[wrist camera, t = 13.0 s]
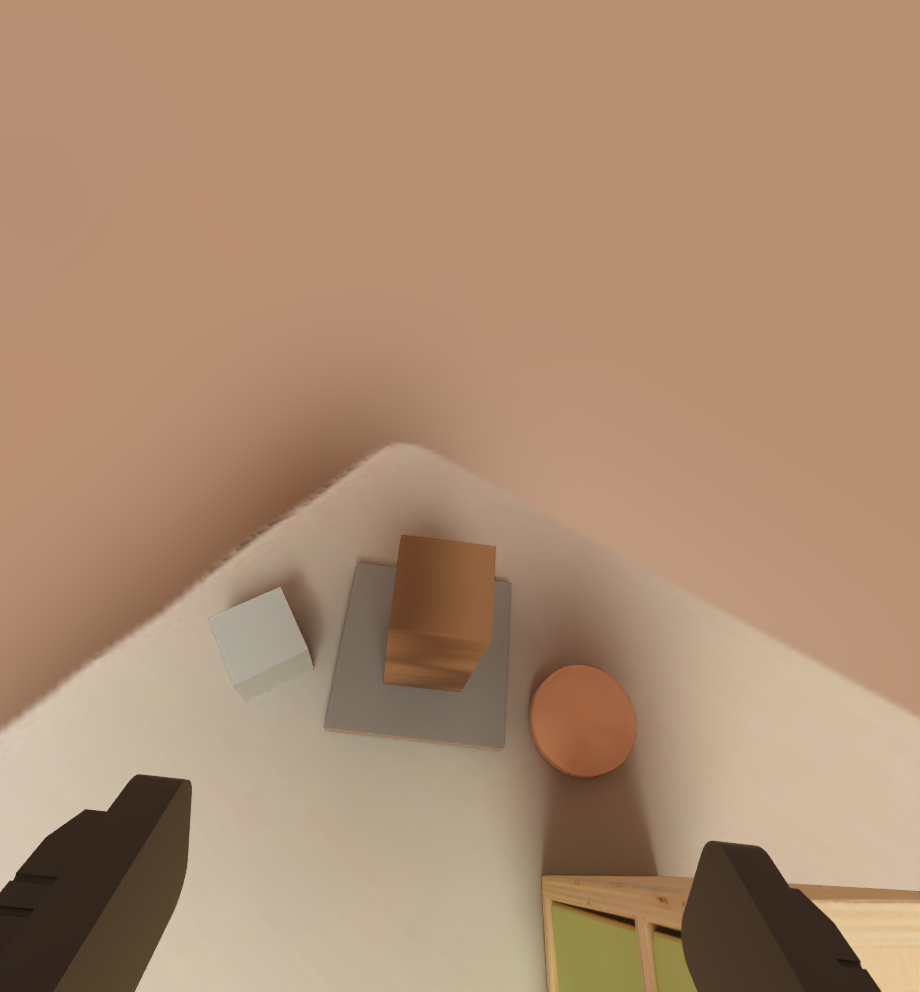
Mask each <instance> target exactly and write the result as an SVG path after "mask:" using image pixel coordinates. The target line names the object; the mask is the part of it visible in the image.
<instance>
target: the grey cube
mask: <svg viewBox="0 0 920 992" xmlns="http://www.w3.org/2000/svg"><path fill="white" fill-rule="evenodd" d="M208 620H209V623H210V625H211V628H212V631H213V633H214V636H215V639H216V641H217V644H218V647H219V649H220V652H221V655H222V657H223V660H224V663H225V665H226V668H227V671H228V673H229V676H230V679H231V682H232V684H233V686H234V687H235V689H236V690H237V691H238V692H239V694H240V695H241V696H242V697H243V698H244V700H245V701H246V702H248V701H250V700H252V699H254V698H256V697H258V696H260V695H262V694H264V693H266V692H268V691H271V690H273V689H275V688H277V687H279V686H281V685H283V684H285V683H287V682H289V681H291V680H293V679H295V678H297V677H299V676H301V675H303V674H305V673H307V672H309V671H311V670H313V669H314V667H313V664H312V661H311V657H310V654H309V650H308V648H307V646H306V643H305V641H304V639H303V637H302V634H301V632H300V630H299V627H298V625H297V623H296V621H295V618H294V616H293V614H292V612H291V609H290V607H289V605H288V603H287V600H286V598H285V596H284V594H283V591H282V589H281V587H278V588H276V589H274V590H271V591H269V592H267V593H264V594H262V595H260V596H257V597H255V598H253V599H251V600H248V601H246V602H244V603H241V604H239V605H237V606H234V607H232V608H230V609H227V610H225V611H223V612H220V613H218V614H216V615H213V616H211V617H209V618H208Z"/></svg>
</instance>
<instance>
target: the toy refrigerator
mask: <svg viewBox="0 0 920 992" xmlns="http://www.w3.org/2000/svg"><path fill="white" fill-rule="evenodd" d="M693 880H694V878H686V877H668V876H575V875H544V876H543V877H542V900H543V919H544V936H545V957H546V975H547V992H697V990H696V987H695V985H694V982H693V980H692V977H691V975H690V972H689V970H688V967H687V964H686V961H685V957H684V952H683V946H682V937H681V924H682V917H683V913H684V910H685V906H686V903H687V900H688V896H689V893H690V890H691V886H692V883H693ZM787 884H788V883H787ZM788 885H789V887H790V888H796V889H799V890H800V891H801V892H803V893H804V894H805V895H806V896H807V897H808V898H809V899H810V900H811V901H812V902H813V903H814V904H815V905H816V906H817V907H818V908H819V909H820V910H821V911H822V912H823V913H825V914H826V915H827V916H828V917H829V918H830V919H831V920H832V921H833V922H834V923H835V925H836V926H837V928H838V929H839V931H840V932H841V933H842V935H843V936H844V938H845V939H846V941H847V942H848V944H849V945H850V946H851V948H852V949H853V951H854V952H855V954H856V955H857V957H858V958H859V959H860V961H861V967H862V969H866V970H867V971H868V972H869V974H870V975H871V977H872V978H873V980H874V981H875V983H876V984H877V985H878V987H879V988H880V990H881V991H882V992H920V891H907V890H890V889H873V888H856V887H839V886H822V885H805V884H788Z"/></svg>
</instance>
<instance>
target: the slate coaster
mask: <svg viewBox="0 0 920 992" xmlns="http://www.w3.org/2000/svg"><path fill="white" fill-rule="evenodd" d="M396 569H397V567H391V566H384V565H376V564H369V563H362V562H357V566H356V571H355V576H354V581H353V586H352V591H351V596H350V601H349V606H348V611H347V616H346V621H345V626H344V631H343V636H342V641H341V646H340V651H339V656H338V661H337V666H336V671H335V676H334V681H333V686H332V691H331V696H330V701H329V706H328V711H327V716H326V721H325V726H324V729H325V731H331V732H340V733H348V734H357V735H366V736H374V737H383V738H391V739H400V740H409V741H417V742H426V743H434V744H443V745H452V746H460V747H469V748H477V749H486V750H495V751H502V750H503V749H504V740H505V717H506V693H507V670H508V647H509V624H510V600H511V583H508V582H501V581H494V605H493V631H492V640H491V642H490V644H489V645H488V647H487V649H486V650H485V652H484V654H483V656H482V657H481V659H480V661H479V662H478V664H477V666H476V668H475V669H474V671H473V673H472V674H471V676H470V678H469V679H468V681H467V683H466V685H465V686H464V688H463V690H462V691H461V692H452V691H443V690H433V689H423V688H413V687H404V686H394V685H384V684H383V682H384V671H385V660H386V649H387V638H388V627H389V620H390V613H391V606H392V598H393V591H394V584H395V577H396Z"/></svg>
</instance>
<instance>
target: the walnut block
mask: <svg viewBox="0 0 920 992" xmlns="http://www.w3.org/2000/svg"><path fill="white" fill-rule="evenodd" d="M495 554H496V546H488V545H480V544H472V543H464V542H456V541H447V540H439V539H431V538H423V537H415V536H407V535H401V540H400V547H399V555H398V562H397V569H396V577H395V584H394V591H393V598H392V606H391V613H390V620H389V627H388V638H387V649H386V660H385V671H384V682H383V684H384V685H394V686H404V687H413V688H423V689H433V690H443V691H452V692H461V691H462V690H463V688H464V686H465V685H466V683H467V681H468V679H469V678H470V676H471V674H472V673H473V671H474V669H475V668H476V666H477V664H478V662H479V661H480V659H481V657H482V656H483V654H484V652H485V650H486V649H487V647H488V645H489V644H490V642H491V640H492V631H493V605H494V580H495Z"/></svg>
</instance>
